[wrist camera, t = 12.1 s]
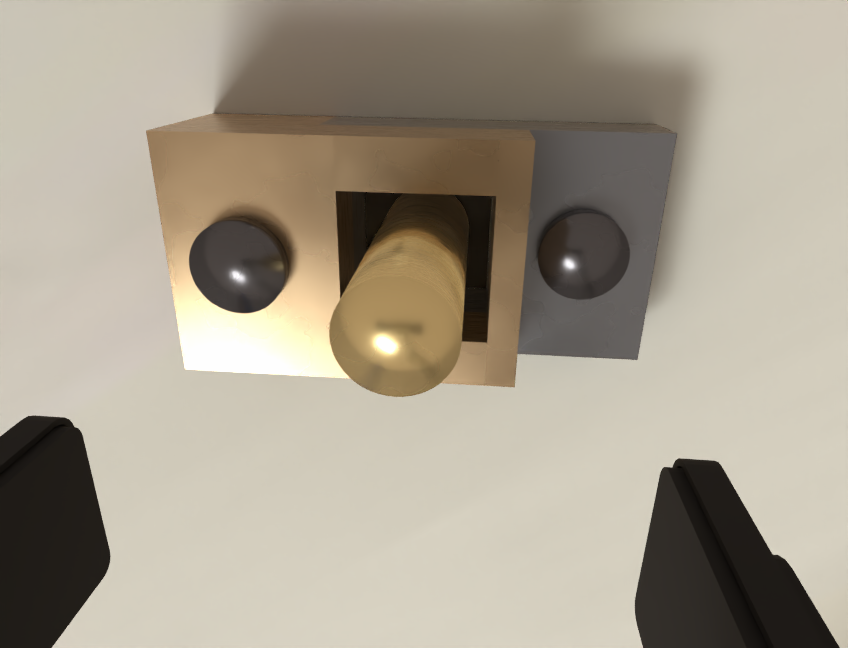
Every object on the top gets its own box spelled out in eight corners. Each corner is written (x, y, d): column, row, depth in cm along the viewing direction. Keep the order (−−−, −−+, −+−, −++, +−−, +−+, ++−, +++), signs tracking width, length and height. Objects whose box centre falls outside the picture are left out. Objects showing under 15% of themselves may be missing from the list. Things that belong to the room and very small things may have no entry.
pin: (471, 187, 23) (463, 279, 14) (467, 268, 25) (458, 399, 15) (385, 184, 23) (325, 273, 14) (386, 265, 25) (332, 393, 16)
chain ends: (656, 124, 22) (709, 148, 17) (623, 331, 25) (659, 404, 20) (212, 113, 23) (135, 133, 18) (236, 312, 26) (177, 377, 21)
